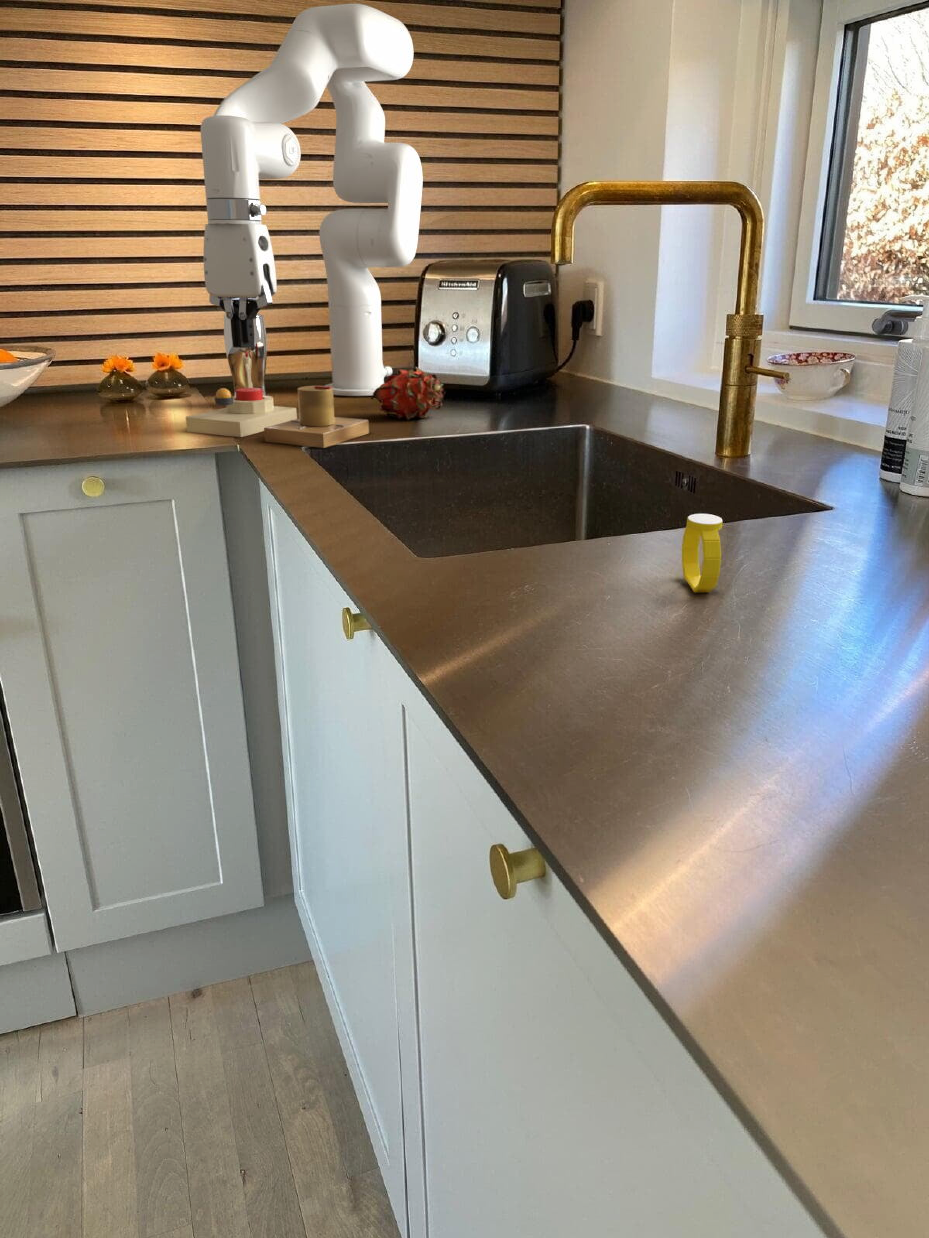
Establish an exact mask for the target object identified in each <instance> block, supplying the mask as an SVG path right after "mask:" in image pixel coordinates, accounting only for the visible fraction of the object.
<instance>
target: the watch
mask: <svg viewBox="0 0 929 1238" xmlns="http://www.w3.org/2000/svg"><path fill="white" fill-rule="evenodd" d="M722 528H723V519H722V517H720V516H719V515H714V514H709V513H693V514H690V515H689V516H687V518H686V526H685V529H684V531H683V535H682V544H681V547H682V548H681V568H682V574H683V580H685V581H686V582H687V584H688V585H689V587H690V588H691V589H692V592H693V593H695V594H696V593H710V592H711V591H713V590H714V589H715V588H716V586H717V583H718V580H719V577H720V573H721V564H722V545H721V544H722V543H721V538H720V533H719V531H721V530H722ZM700 540H701V541H700ZM700 542H702V545H701V546H702V558H703V559H702V564H701V565H702V566H701V568H700V564H699V560H700V559H699V554H700V553H699V547H700ZM700 569H701V570H700Z"/></svg>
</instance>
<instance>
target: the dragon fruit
mask: <svg viewBox="0 0 929 1238" xmlns="http://www.w3.org/2000/svg"><path fill="white" fill-rule="evenodd" d="M414 369H415V371H413V369H409V370H407V369H400V368H399V369H397V370H396V372H397V374H394V375H393V374H392V375H391V376H388V377H387V379H386V381H385V382H384V384H382V385H381V386H380V387H379V388H377V389H376V390H375V391H374V392H373V395H372V396H370V399H371V401H373V400H374V399H376V401H378V402H380V403H381V404H379V407H378V408H379V411H380V412H383V413H385V414H386V416H388V417H393V418H396V419H397V418H398V419H400V418H404V417H405V418H406V420H407V421H410V420H411V419H412V418H415V417H416V416H417V418H420V419H425V418H427V417H428V412H429V411H430V410H432V411H433V410H434V411H437V410H440V409H441V407H443V402H442V401H443V399H444V396H445V394H446V392H447V391H446V389H445V388H444V384H443V383H442V382H441V381H440V380H439V379H438V377H437V375H436V374H435V373H430V372H428V371H423V370H422V369H421V368H419V367H417V366H415V367H414Z"/></svg>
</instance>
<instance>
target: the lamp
mask: <svg viewBox="0 0 929 1238" xmlns="http://www.w3.org/2000/svg"><path fill="white" fill-rule="evenodd" d="M233 397H234V396H232V393H231V391H230V390H229V389H227V388H225V387H222V388H219V389H218V390H217V391H216V393H215V397H214V404H215V405H216V406H227V405H232V404H233Z"/></svg>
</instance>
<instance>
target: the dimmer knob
mask: <svg viewBox="0 0 929 1238" xmlns="http://www.w3.org/2000/svg"><path fill="white" fill-rule="evenodd" d="M334 396H335V395H333V388H332V387H329V386H325V385H305V386H300V387H298V388H297V397H298V398H297V399H298V400H297V401H298V416H299V418H300V424H301V425H304V426H328V425H332V424H334V423H335V417H336V416H335V398H334ZM299 418H298V419H299Z"/></svg>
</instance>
